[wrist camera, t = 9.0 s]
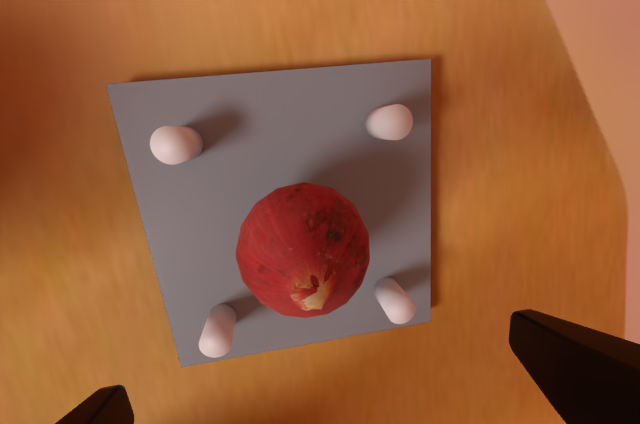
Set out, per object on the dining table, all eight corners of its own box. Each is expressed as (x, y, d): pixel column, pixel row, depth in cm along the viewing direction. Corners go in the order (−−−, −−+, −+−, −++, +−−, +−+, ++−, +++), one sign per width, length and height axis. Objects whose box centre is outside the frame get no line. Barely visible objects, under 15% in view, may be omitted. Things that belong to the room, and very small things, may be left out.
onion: (285, 150, 16) (296, 169, 8) (367, 210, 18) (440, 271, 10) (224, 237, 17) (184, 327, 9) (308, 288, 18) (334, 400, 11)
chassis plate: (186, 353, 20) (167, 402, 16) (118, 87, 15) (71, 74, 12) (422, 311, 21) (451, 347, 18) (420, 63, 17) (458, 46, 14)
